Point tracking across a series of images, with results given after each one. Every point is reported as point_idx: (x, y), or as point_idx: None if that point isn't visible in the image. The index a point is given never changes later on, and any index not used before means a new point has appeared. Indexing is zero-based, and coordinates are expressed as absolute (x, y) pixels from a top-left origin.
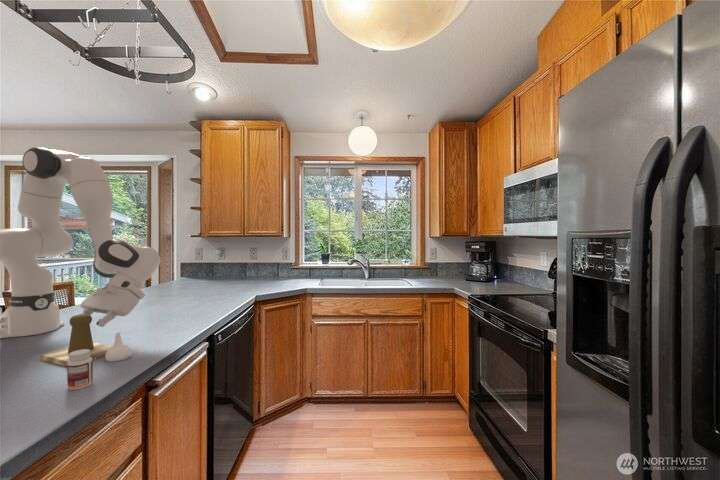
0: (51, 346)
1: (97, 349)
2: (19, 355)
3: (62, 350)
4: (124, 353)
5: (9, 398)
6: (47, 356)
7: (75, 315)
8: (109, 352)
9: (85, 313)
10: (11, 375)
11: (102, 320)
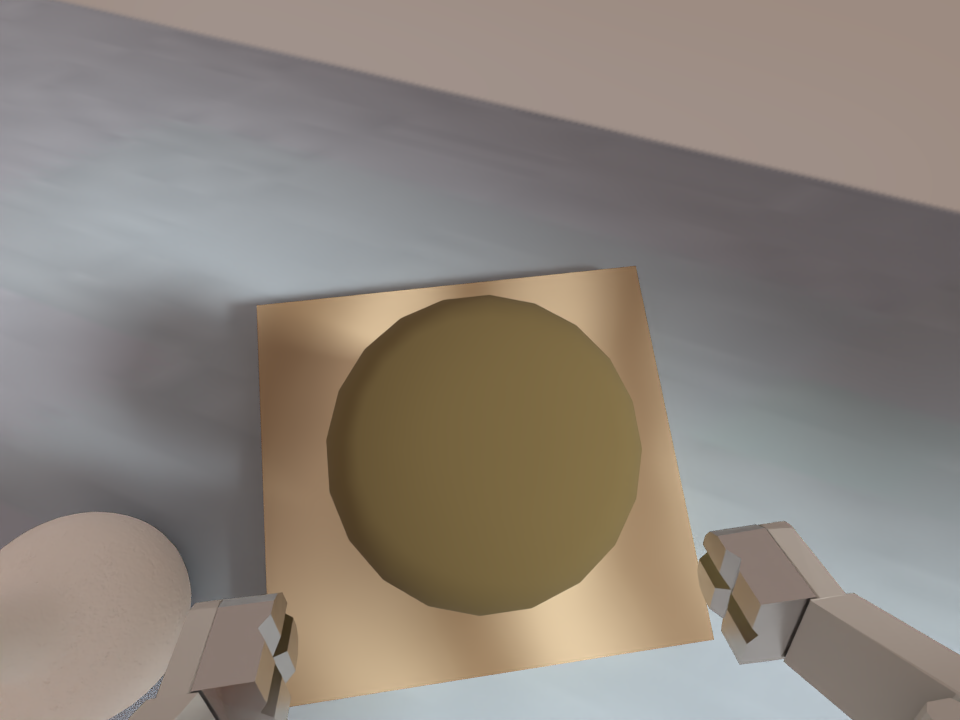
0: (942, 437)
1: None
2: (858, 244)
3: None
4: None
5: (64, 10)
6: (541, 276)
7: (534, 364)
8: (42, 532)
9: (893, 677)
10: (439, 107)
11: (163, 678)
